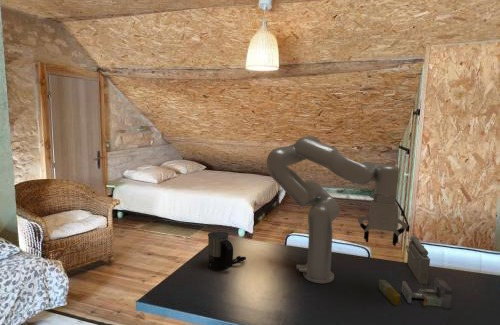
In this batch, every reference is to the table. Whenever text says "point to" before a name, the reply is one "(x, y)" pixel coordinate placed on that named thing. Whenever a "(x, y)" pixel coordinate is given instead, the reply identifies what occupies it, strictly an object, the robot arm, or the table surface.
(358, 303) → the table surface
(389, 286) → the medication box
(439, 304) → the grey u-shaped bracket
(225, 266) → the milk frother
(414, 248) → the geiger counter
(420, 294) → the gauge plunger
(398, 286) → the table surface
